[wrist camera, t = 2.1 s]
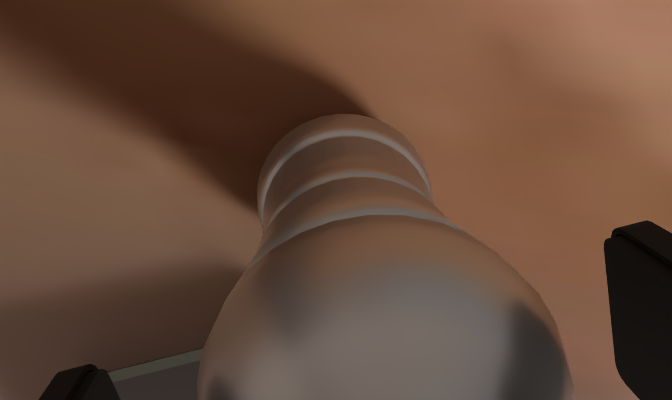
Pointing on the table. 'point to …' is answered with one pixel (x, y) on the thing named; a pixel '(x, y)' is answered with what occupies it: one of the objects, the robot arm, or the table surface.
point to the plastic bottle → (373, 287)
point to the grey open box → (160, 378)
